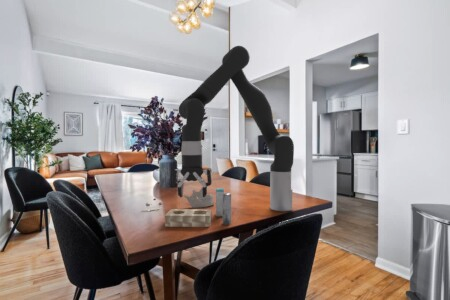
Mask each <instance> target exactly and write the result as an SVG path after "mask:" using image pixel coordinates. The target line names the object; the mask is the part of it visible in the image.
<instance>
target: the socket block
mask: <svg viewBox="0 0 450 300" xmlns="http://www.w3.org/2000/svg"><path fill="white" fill-rule="evenodd" d="M212 213H213V212H212V209H206V208H205V209H202V208H201V209H199V208H194V209H188V208H186V209H182V208H177V209H176V208H175V209H174V208H173V209H170V210H169V211H168V212H167V213H166V214H165V215H164V222H165V223H164V227H169V228H170V227H171V228H174V227H175V228H176V227H177V228H178V227H180V228H187V227H188V228H192V227H193V228H200V227H201V228H206V227H207V228H210V227H211V224H212V220H213V218H212V215H213V214H212Z"/></svg>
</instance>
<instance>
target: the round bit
mask: <svg viewBox="0 0 450 300" xmlns="http://www.w3.org/2000/svg"><path fill="white" fill-rule="evenodd" d="M222 196H223V216H222V225H224V226H225V225H228V226H229V225H232V193H230V192H224V193H223V194H222Z"/></svg>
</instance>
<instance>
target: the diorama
mask: <svg viewBox="0 0 450 300" xmlns="http://www.w3.org/2000/svg"><path fill="white" fill-rule="evenodd" d="M156 200H157V199H156V198H153V201H156ZM150 205H153V204H152V203H151V202H150V203H148V202H147V203H145V206H146V207H150ZM157 205H158V206H162V205H163V203H162V202H161V201H159V202H158V203H157ZM159 209H160V207H158V208H156V211H158V210H159ZM151 211H154V209H147V212H151Z"/></svg>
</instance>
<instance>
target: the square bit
mask: <svg viewBox="0 0 450 300" xmlns="http://www.w3.org/2000/svg"><path fill="white" fill-rule="evenodd" d="M223 193H225V187H216V188H215V217H223V196H222V194H223Z"/></svg>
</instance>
